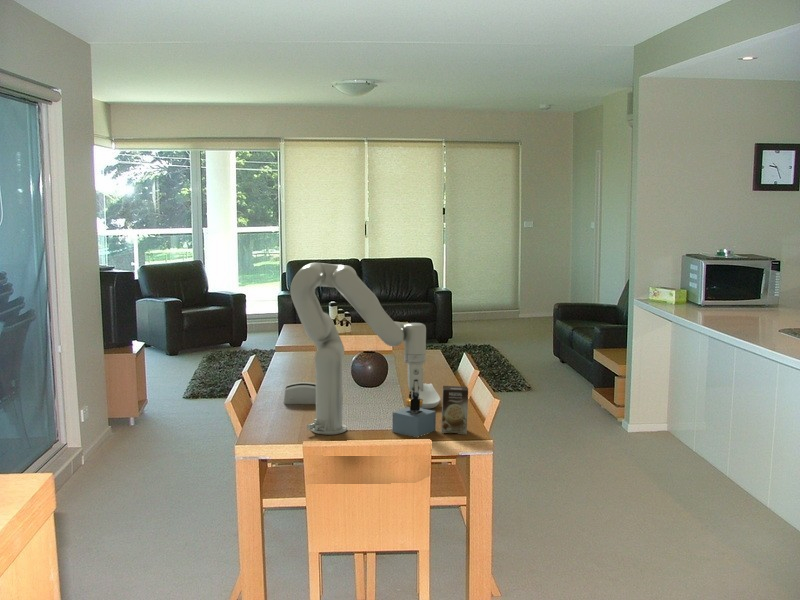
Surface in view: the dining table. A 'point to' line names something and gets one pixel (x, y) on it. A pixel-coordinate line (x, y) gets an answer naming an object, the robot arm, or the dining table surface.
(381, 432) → the dining table surface
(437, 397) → the spoon rest
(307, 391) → the grey slotted block
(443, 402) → the coffee box
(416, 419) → the hitch block
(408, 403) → the pin
